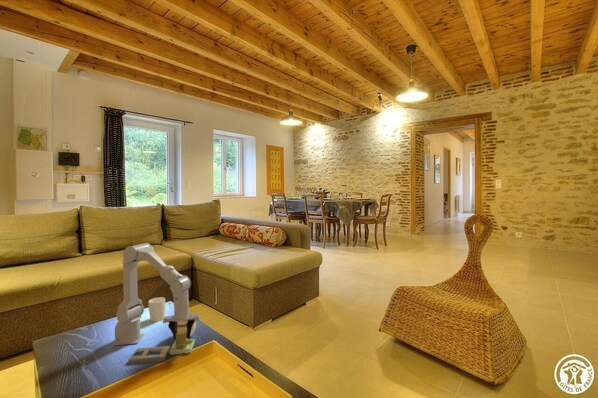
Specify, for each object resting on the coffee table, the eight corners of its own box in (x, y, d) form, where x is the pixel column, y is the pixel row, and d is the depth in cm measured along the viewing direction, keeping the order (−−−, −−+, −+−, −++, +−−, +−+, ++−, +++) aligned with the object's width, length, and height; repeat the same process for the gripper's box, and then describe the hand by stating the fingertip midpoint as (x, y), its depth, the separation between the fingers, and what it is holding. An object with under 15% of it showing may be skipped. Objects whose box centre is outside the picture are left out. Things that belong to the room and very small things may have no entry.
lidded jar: (180, 344, 127) (179, 323, 126) (167, 337, 133) (166, 317, 133) (201, 334, 135) (201, 314, 135) (188, 328, 142) (187, 309, 141)
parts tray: (169, 354, 119) (169, 350, 119) (175, 344, 127) (175, 340, 127) (190, 353, 120) (190, 348, 120) (194, 343, 128) (194, 338, 128)
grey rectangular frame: (128, 363, 113) (128, 359, 113) (137, 352, 121) (137, 348, 121) (163, 360, 115) (163, 356, 115) (170, 349, 123) (170, 345, 123)
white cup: (154, 323, 147) (153, 304, 147) (145, 320, 151) (145, 301, 151) (168, 317, 154) (168, 299, 153) (160, 314, 158) (159, 296, 158)
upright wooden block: (176, 350, 121) (175, 334, 121) (178, 345, 125) (178, 329, 125) (186, 349, 121) (185, 333, 121) (188, 344, 125) (188, 328, 125)
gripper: (160, 311, 118) (161, 344, 118) (197, 309, 120) (198, 341, 120) (165, 304, 125) (166, 335, 125) (200, 302, 127) (201, 333, 127)
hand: (182, 338), depth 123 cm, fingers open, 5 cm apart
